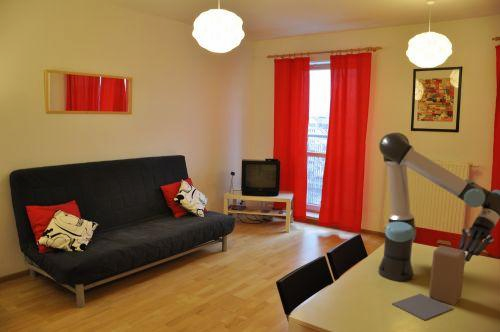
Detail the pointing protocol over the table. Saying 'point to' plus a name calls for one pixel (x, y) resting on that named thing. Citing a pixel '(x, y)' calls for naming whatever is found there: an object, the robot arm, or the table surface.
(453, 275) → the wooden block
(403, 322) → the table surface
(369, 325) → the table surface
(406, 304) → the mat
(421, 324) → the table surface
